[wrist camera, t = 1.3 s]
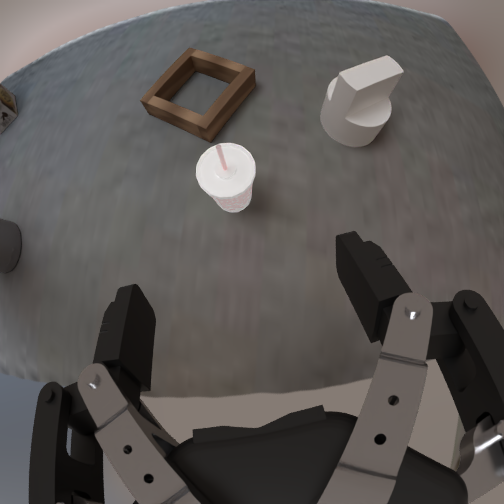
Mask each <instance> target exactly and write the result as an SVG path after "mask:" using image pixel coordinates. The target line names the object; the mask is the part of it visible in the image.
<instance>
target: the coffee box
mask: <svg viewBox="0 0 504 504" xmlns="http://www.w3.org/2000/svg"><path fill="white" fill-rule="evenodd" d="M17 116H18V112H17V106H16V100H15V95H14V94H12V93H11V92H10V91H9V90H7V89H6V88H5V87H4V86H3V85H1V84H0V134H1V133H2V132H3V131H4V130H5V129H6V128H7V127H8V126H9V125H10V123H11V122H12V121H13V120H14V119H15V118H16V117H17Z"/></svg>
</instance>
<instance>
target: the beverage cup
mask: <svg viewBox="0 0 504 504" xmlns="http://www.w3.org/2000/svg"><path fill="white" fill-rule="evenodd" d="M196 177H197V180H198V182H199V184H200V187H201V188H202V189H203V190H204V191H205V192H206V193H207V194H209V195H210V196H212V198H213V199H214V200H215V201H216V202H217V204H218V205H219V206H220V207H221V208H222V209H223V210H225V211H228V212H239V211H241V210H243V209H245V208H246V207H247V206H248V205H249V202H250V200H251V195H252V183H253V180H254V178H255V161H254V159H253V157H252V155H251V153H250V152H249V151H247V150H246V149H245V148H244V147H242V146H240V145H237V144H233V143H221V144H218V145H215V146H213V147H211V148H209V149H208V150H207V151H206V152H205V153H204V154H203V155H201V157H200V159H199V161H198V163H197V166H196Z"/></svg>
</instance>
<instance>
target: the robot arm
mask: <svg viewBox="0 0 504 504" xmlns="http://www.w3.org/2000/svg"><path fill="white" fill-rule="evenodd" d="M20 251H21V235H20V231H19V229H18V227H17V225H16V224H15V223H13V222H11V221H7V220H4V219H1V218H0V272H2V273H7V272H10V271H11V270H12V269H13V268H14V267H15V265H16V263H17V261H18V258H19V255H20ZM336 268H337V273H338V276H339V279H340V281H341V283H342V285H343V287H344V289H345V291H346V293H347V295H348V297H349V299H350V301H351V303H352V305H353V307H354V309H355V311H356V313H357V315H358V317H359V319H360V321H361V323H362V325H363V327H364V330H365V332H366V334H367V336H368V338H369V340H370V342H371V343H373V342H376V341H379V340H380V342H381V344H382V346H383V347H382V351H381V354H380V357H379V360H378V364H377V367H376V370H375V373H374V376H373V379H372V382H371V385H370V388H369V391H368V394H367V396H366V399H365V402H364V404H363V407H362V410H361V412H360V415H359V417H356V416H353V415H350V414H347V413H342V412H325V411H324V408H323V405H320V406H316V407H312V408H309V409H305V410H301V411H297V412H293V413H290V414H288V415H286V416H283V417H281V418H279V419H277V420H275V421H273V422H271V423H268V424H266V425H264V426H262V427H259V428H243V427H230V426H219V427H211V428H203V429H194V430H193V437H192V438H190V439H188V440H186V441H184V442H182V443H181V444H179V443H178V442H177V441H176V440H175V439H173V437H171V436H170V435H169V434H168V433H167V432H166V431H165V429H164V428H163V427H162V426H161V425H160V423H159V422H158V421H157V420H156V419H155V417H154V416H153V414H152V413H151V412H150V410H149V409H148V408H147V407H146V405H145V404H144V403H143V401H142V400H141V399H140V392H142V391H150V387H151V371H152V358H153V346H154V335H155V326H156V318H155V314H154V311H153V309H152V307H151V305H150V304H149V302H148V300H147V299H146V297H145V296H144V294H143V292H142V291H141V289H140V287H139V286H138V285H137V284H133V285H129V286H124V287H120V288H119V289H118V291H117V294H116V298H115V302H111V304H110V305H109V307H108V308H107V310H106V311H105V313H104V317H103V321H102V325H101V329H100V333H99V337H98V342H97V346H96V351H95V355H94V360H93V364H91V365H89V366H87V367H86V368H85V369H84V370H83V371H82V372H81V374H80V376H79V378H78V382H76V383H74V384H71V385H69V386H67V387H64V388H63V387H62V386H61V385H59V384H58V383H57V382H49V383H47V384H46V385H45V386H44V387H43V388H42V389H41V391H40V393H39V396H38V402H37V407H36V414H35V420H34V427H33V435H32V443H31V454H30V469H29V504H105V501H104V483H103V451H104V453H105V454H106V456H107V458H108V459H109V461H110V463H111V464H112V466H113V467H114V469H115V470H116V472H117V474H118V475H119V477H120V478H121V479H122V481H123V482H124V484H125V485H126V487H127V488H128V490H129V491H130V492H131V494H132V495H133V497H134V498H135V499H136V500H135V501H134V503H133V504H469V503H471V502H472V501H474V500H475V499H477V498H479V497H480V496H482V495H484V494H485V493H487V492H488V491H490V490H491V489H493V488H495V487H496V486H497V485H499V484H500V483H502V482H503V481H504V330H503V328H502V326H501V325H500V323H499V321H498V320H497V318H496V317H495V315H494V314H493V312H492V310H491V309H490V307H489V306H488V304H487V303H486V301H485V300H484V299H483V297H482V296H481V295H480V294H478V293H477V292H475V291H472V290H462V291H459V292H458V293H457V294H456V295H455V296H454V299H453V301H450V302H430V301H429V300H428V299H427V298H426V297H424V296H423V295H421V294H418V293H413V292H412V291H411V289H410V288H409V286H408V285H407V283H406V282H405V280H404V279H403V278H402V276H401V275H400V273H399V272H398V271H397V269H396V268H395V266H394V265H392V262H391V261H390V259H389V258H387V255H386V254H385V253H384V251H383V250H382V249H381V247H379V246H378V245H376V244H375V243H373V242H372V241H366V242H363V241H362V239H361V238H360V236H359V235H358V234H357V232H355V231H352V232H348V233H344V234H340V235H337V236H336ZM427 359H436V361H437V363H438V365H439V367H440V369H441V371H442V374H443V376H444V379H445V381H446V383H447V385H448V388H449V390H450V392H451V395H452V397H453V400H454V402H455V405H456V408H457V410H458V413H459V415H460V418H461V421H462V423H463V426H464V429H465V432H466V433H465V434H464V436H463V437H462V440H461V442H460V447H459V451H460V464H459V467H458V469H457V471H456V472H455V471H454V470H452V469H450V468H448V467H446V466H444V465H442V464H440V463H438V462H436V461H434V460H432V459H431V458H428V457H427V456H425V455H423V454H421V453H419V452H417V451H416V450H414V449H412V448H410V447H408V443H409V440H410V436H411V433H412V430H413V426H414V423H415V420H416V416H417V413H418V409H419V405H420V401H421V397H422V393H423V389H424V384H425V380H426V375H427V367H428V366H427V364H426V363H425V362H426V360H427ZM68 428H70V429H72V437H71V455H70V456H69V455H68V453H67V449H66V442H67V430H68Z"/></svg>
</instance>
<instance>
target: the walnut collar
mask: <svg viewBox="0 0 504 504" xmlns="http://www.w3.org/2000/svg"><path fill="white" fill-rule="evenodd" d="M195 71H197V72H200V73H203V74H206V75H208V76H211V77H214V78H217V79H219V80H222V81H224V82H227V83H230V85H229V86H228V87H227V88H226V89H225V90H224V91H223V93H222V94H221V95H220V96H219V97H218V99H217V100H216V101H215V102H214V103H213V105H212V106H211V107H210V108H209V110H208V111H207V112H206V113H205V114H204V116H202V115H199V114H197V113H195V112H193V111H190V110H188V109H186V108H183V107H181V106H178V105H176V104H174V103H171V102H169V100H170V99H171V98H172V97H173V96H174V94H175V93H176V92H177V91H178V90H179V89H180V88H181V86H182V85H183V84H184V83H185V82H186V81H187V80H188V79H189V78H190V76H191V75H192V74H193V73H194V72H195ZM255 86H256V83H255V69H252V68H249V67H247V66H244V65H241V64H239V63H236V62H233V61H230V60H227V59H224V58H221V57H218V56H215V55H212V54H209V53H206V52H203V51H199V50H196V49H192V48H188V49H187V50H186V51H185V52H184V53H183V54H182V55H181V56H180V57H179V58H178V59H177V60H176V61H175V62H174V63H173V64H172V65H171V66H170V67H169V68H168V70H167V71H166V72H165V73H164V74H163V75H162V76H161V77H160V78H159V79H158V80H157V81H156V83H155V84H154V85H153V86H152V87H151V88H150V89H149V90H148V92H147V93H146V94H145V95H144V96H143V97H142V99H141V100H140V101H141V102H142V104H143V106H144V107H145V109H146V110H147V112H148V113H149V114H150V115H152V116H155V117H157V118H159V119H161V120H164V121H166V122H168V123H170V124H172V125H174V126H177V127H179V128H181V129H183V130H185V131H187V132H189V133H192V134H194V135H196V136H198V137H200V138H202V139H204V140H206V141H208V142H210V143H211V142H212V141H213V139H214V138H215V137H216V135H217V134H218V133H219V131H220V130H221V129H222V127H223V126H224V125H225V123H226V122H227V121H228V120H229V118H230V117H231V116H232V114H233V113H234V112H235V111H236V109H237V108H238V107H239V106H240V104H241V103H242V102H243V101H244V99H245V98H246V97H247V96H248V94H249V93H250V92H251V91H252V90H253V88H254V87H255Z"/></svg>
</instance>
